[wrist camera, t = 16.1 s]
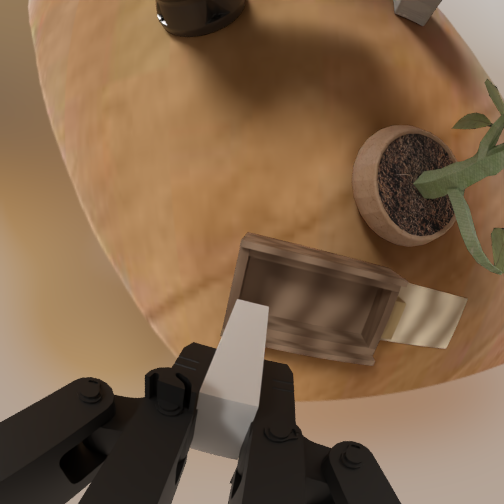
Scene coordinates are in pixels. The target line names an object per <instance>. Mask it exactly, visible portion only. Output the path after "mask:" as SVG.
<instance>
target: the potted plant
mask: <svg viewBox="0 0 504 504" xmlns="http://www.w3.org/2000/svg"><path fill="white" fill-rule="evenodd" d="M485 85H486V87H487V90H488V93H489V96H490V97H491V99H492V101H493V102H494V104H495V105H496V107H497V109H498V111H499V112H500V114H501V116H500V117H499V119H498V120H497V121H496V122H495V123H494V124H492V123H491V122H490V121H489V119H488V118H487V117H486V116H485V115H483V114H479V113H471V114H467V115H466V116H464V117H463V118H461V119H460V120H459V121H458V122H457V123H456V124H455V125H454V127H453V128H454V129H476V128H481V127H486V126H489V127H491V128H490V129H489V131H488V132H487V134H486V135H485V136H484V138H483V139H482V141H481V142H480V146H479V149H478V152H477V153H476V154H475V155H474V156H473V157H471V158H469V159H467V160H465V161H462V162H457V160H456V158H455V156H454V155H453V153H452V151H451V150H450V149H449V147H448V146H447V145H446V144H445V143H444V142H443V141H442V140H441V139H439V138H438V137H437V136H435V135H434V134H432V133H430V132H428V131H425V130H422V129H420V128H417V127H414V126H410V125H393V126H389V127H386V128H383V129H380V130H379V131H377V132H376V133H375V134H373V135H372V136H371V137H369V138H368V139H367V140H366V141H365V143H364V144H363V146H362V147H361V148H360V150H359V152H358V155H357V157H356V160H355V163H354V166H353V175H352V187H353V194H354V199H355V202H356V204H357V207H358V210H359V212H360V214H361V215H362V217H363V218H364V220H365V221H366V223H367V224H368V226H369V227H370V228H371V229H372V230H373V231H374V232H375V233H376V234H378V235H379V236H380V237H381V238H383V239H385V240H387V241H389V242H391V243H393V244H395V245H401V246H407V247H412V246H418V245H424V244H427V243H429V242H431V241H433V240H434V239H436V238H438V237H440V236H442V235H444V234H445V233H446V232H447V231H448V230H449V229H450V228H451V227H452V226H453V224H454V222H455V221H456V220H457V223H458V226H459V229H460V233H461V235H462V238H463V240H464V242H465V245H466V247H467V250H468V251H469V252H470V253H471V255H472V256H473V257H474V259H475V260H476V261H477V263H478V264H480V265H481V266H483V267H485V268H486V269H488V270H489V271H490V272H493V273H496V274H500V275H501V274H502V273H504V228H494V229H493V231H492V233H491V239H492V249H493V258H494V265H492V264H491V263H490V261H489V260H488V258H487V257H486V255H485V254H484V252H483V251H482V248H481V245H480V243H479V240H478V238H477V235H476V231H475V227H474V224H473V220H472V216H471V213H470V209H469V206H468V204H467V202H466V201H465V199H464V197H463V196H464V190H465V188H467V187H469V186H470V185H472V184H474V183H476V182H478V181H480V180H481V179H483V178H485V177H487V176H492V175H496V174H497V173H499V172H500V171H501V170H502V169H503V168H504V143H502V144H500V145H497V146H495V145H496V143H497V141H498V139H499V136H500V134H501V132H502V130H503V128H504V103H503V101H502V99H501V97H500V95H499V92H498V89H497V87H496V86H494V85H493V84H492V83H491V82H490V81H489V80H488V79H486V81H485Z"/></svg>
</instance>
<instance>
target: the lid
mask: <svg viewBox="0 0 504 504" xmlns="http://www.w3.org/2000/svg"><path fill="white" fill-rule="evenodd" d="M467 300H468V299H467V298H464V297H460V296H456V295H453V294H449V293H445V292H441V291H438V290H434V289H430V288H426V287H423V286H419V285H415V284H411V283H408V285H407V287H402V286H401V288H400V291H399V294H398V297H397V299H396V302H395V305H394V307H393V310H392V312H391V315H390V317H389V320H388V322H387V325H386V327H385V329H384V332H383V334H382V336H381V339H380V340H384V341H390V342H397V343H404V344H411V345H418V346H426V347H434V348H442V349H446V348H447V346H448V343H449V341H450V339H451V337H452V335H453V333H454V331H455V329H456V326H457V324H458V322H459V319H460V317H461V315H462V312H463V310H464V307H465V305H466V302H467Z"/></svg>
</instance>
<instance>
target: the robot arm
mask: <svg viewBox="0 0 504 504" xmlns="http://www.w3.org/2000/svg"><path fill="white" fill-rule="evenodd" d="M244 5H245V0H156V9H157V16H158V19H159V22H160V23H161V24H162V26H163V27H164V28H165V29H166V30H167V31H168V32H170V33H171V34H174V35H177V36H184V37H193V36H200V35H205V34H209V33H212V32H215V31H217V30H219V29H221V28H223V27H225V26H227V25H228V24H230V23H231V22H233V21H234V20H235V19H236V18H237V17H238V16H239V15H240V13H241V12H242V10H243V8H244ZM268 312H269V307H268V306H264V305H260V304H256V303H252V302H248V301H244V300H240V299H237V301H236V303H235V306H234V308H233V310H232V313H231V315H230V318H229V320H228V323H227V325H226V328H225V330H224V333H223V335H222V338H221V340H220V342H219V345H218V347H217V349H216V348H212V347H208V346H205V345H201V344H198V343H195V342H193V343H191V344H190V345H188V346H186V347H184V349H183V350H182V352H181V353H180V355H179V357H178V358H177V360H176V362H175V364H174V365H173V366H172V368H169V367H167V368H157V369H154V370H151V371H150V372H148V373H147V374H146V375H145V397H143V398H129V397H123V396H117V395H114V394H113V391H112V388H111V387H110V386H109V385H108V384H107V383H105V382H103V381H102V380H100V379H96V378H92V377H87V378H80V379H77V380H75V381H73V382H71V383H69V384H68V385H66V386H64V387H63V388H61V389H59V390H57V391H55V392H54V393H52V394H51V395H48V396H47V397H45V398H43V399H42V400H40V401H38V402H36V403H34V404H33V405H31V406H29V407H27V408H26V409H24V410H22V411H20V412H18V413H16V414H15V415H13V416H11V417H9V418H7V419H5V420H4V421H2V422H0V504H65V503H66V502H68V501H69V500H70V499H71V498H73V497H74V496H75V495H76V494H77V493H79V492H80V491H81V490H82V489H83V488H85V487H86V486H87V485H88V484H89V483H91V484H90V485H89V487H88V489H87V490H86V492H85V493H84V495H83V497H82V498H81V500H80V502H79V503H78V504H171V503H172V500H173V497H174V495H175V492H176V489H177V486H178V483H179V481H180V478H181V475H182V472H183V469H184V467H185V464H186V460H187V453H188V451H189V448H192V449H196V450H199V451H203V452H206V453H210V454H214V455H218V456H222V457H227V458H231V459H238V457H239V460H238V466H237V468H236V470H235V472H234V475H233V477H232V479H231V481H230V483H231V484H232V486H231V491H230V496H229V501H228V504H401V503H400V501H399V499H398V498H397V496H396V494H395V492H394V491H393V489H392V487H391V485H390V483H389V482H388V480H387V478H386V477H385V475H384V473H383V471H382V470H381V468H380V466H379V464H378V463H377V461H376V459H375V458H374V456H373V454H372V453H371V452H370V451H369V449H368V448H366V447H365V446H363V445H362V444H360V443H356V442H353V441H343V442H340V443H337V444H336V445H335V446H334V447H332V448H329V447H326V446H323V445H320V444H317V443H314V442H312V441H310V440H308V439H307V438H305V437H304V436H303V435H302V432H301V429H300V428H299V427H298V426H297V425H296V422H295V400H294V385H293V383H294V381H293V373H292V371H291V370H290V368H289V366H288V365H287V364H282V363H277V362H273V361H268V360H264V353H265V343H266V333H267V323H268ZM190 445H191V446H190Z"/></svg>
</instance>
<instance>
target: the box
mask: <svg viewBox="0 0 504 504" xmlns="http://www.w3.org/2000/svg"><path fill="white" fill-rule="evenodd" d="M407 285H408V281H407V280H405V279H404V278H403V277H401V276H400V275H398V274H397V273H395V272H394V271H393V270H391V269H390V268H387V267H383V266H379V265H376V264H372V263H368V262H364V261H360V260H357V259H353V258H349V257H345V256H341V255H337V254H334V253H330V252H326V251H322V250H318V249H314V248H310V247H306V246H302V245H298V244H294V243H290V242H286V241H282V240H278V239H274V238H270V237H266V236H262V235H257V234H253V233H249V232H248V233H247V234H246V235H245V236H244V237H243V238H242V240H241V243H240V250H239V255H238V259H237V264H236V268H235V273H234V277H233V282H232V287H231V291H230V296H229V300H228V305H227V310H226V314H225V319H224V324H223V328H222V331H221V335H220V336H222V335H223V333H224V330H225V328H226V325H227V323H228V320H229V318H230V315H231V313H232V310H233V308H234V306H235V303H236V301H237V299H240V300H244V301H248V302H252V303H256V304H260V305H264V306H268V307H269V312H268V323H267V333H266V343H265V347H267V348H271V349H276V350H281V351H285V352H290V353H295V354H300V355H306V356H311V357H317V358H322V359H328V360H335V361H341V362H348V363H355V364H362V365H370V366H373V365H374V363H375V360H374V358H373V354H374V352H375V350H376V347H377V345H378V343H379V341H380V339H381V336H382V334H383V332H384V329H385V327H386V325H387V322H388V320H389V317H390V315H391V312H392V310H393V307H394V305H395V302H396V299H397V297H398V294H399V291H400V288H401V286H402V287H407Z"/></svg>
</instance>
